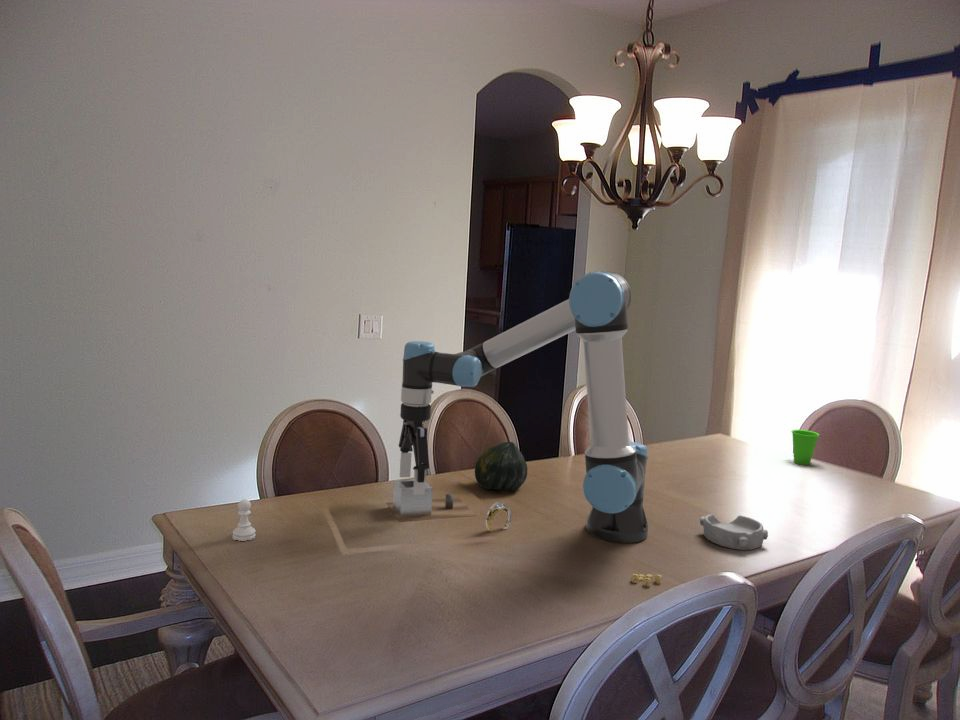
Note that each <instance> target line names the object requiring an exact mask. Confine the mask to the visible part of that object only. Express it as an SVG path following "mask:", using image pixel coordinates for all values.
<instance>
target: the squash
mask: <svg viewBox="0 0 960 720" xmlns="http://www.w3.org/2000/svg"><path fill="white" fill-rule="evenodd" d="M474 477H475V480H476V482H477V483H478V485H479V486H481V487H483V488H485V489H487V490H488V491H490V490H491V491H492V490H494V489H495V490H496V491H500V490H503V491H508V492H515V491H518V490H519V489H520V488H521V486H522V485H523V484H524V483H525V481H526V479H527V477H528V465H527V462H526V460H525V456H524V455H523V454H522V451H520V449H519V448H518V446H517V444H516V443H515V442H513V441H506V442H505V441H504V442H501V443H498V444H495V445H493V446H492V447H488V448H487V449H486V450H484V451H483V452H482V453H481V454H480V456H479V457H478V458H477V460H476V462H475V467H474Z"/></svg>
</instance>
